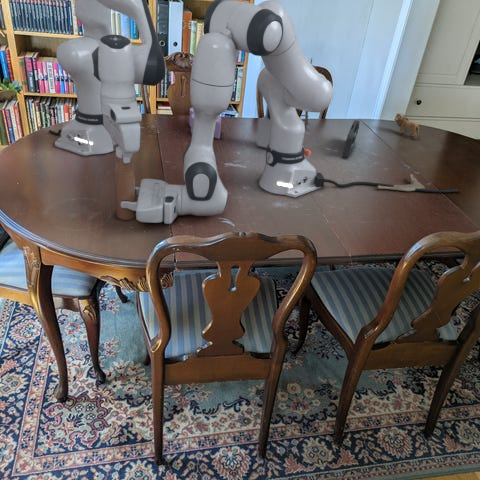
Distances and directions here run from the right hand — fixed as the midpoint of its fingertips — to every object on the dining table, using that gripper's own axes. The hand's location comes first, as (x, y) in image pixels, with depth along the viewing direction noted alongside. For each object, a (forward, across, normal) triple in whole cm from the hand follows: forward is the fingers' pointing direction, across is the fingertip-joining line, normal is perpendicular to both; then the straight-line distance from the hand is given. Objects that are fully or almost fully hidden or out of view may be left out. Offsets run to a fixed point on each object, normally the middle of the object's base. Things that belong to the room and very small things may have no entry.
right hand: (122, 198), depth 133 cm
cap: (-1, 0, -15) cm, 15 cm away
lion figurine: (-121, -82, +5) cm, 147 cm away
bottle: (-1, 0, +6) cm, 6 cm away
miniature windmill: (-71, -88, +5) cm, 113 cm away
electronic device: (-53, -58, +5) cm, 79 cm away
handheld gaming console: (-87, -59, +5) cm, 106 cm away
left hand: (0, 0, -13) cm, 13 cm away
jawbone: (-95, -27, +5) cm, 99 cm away
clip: (-26, -73, +5) cm, 78 cm away
